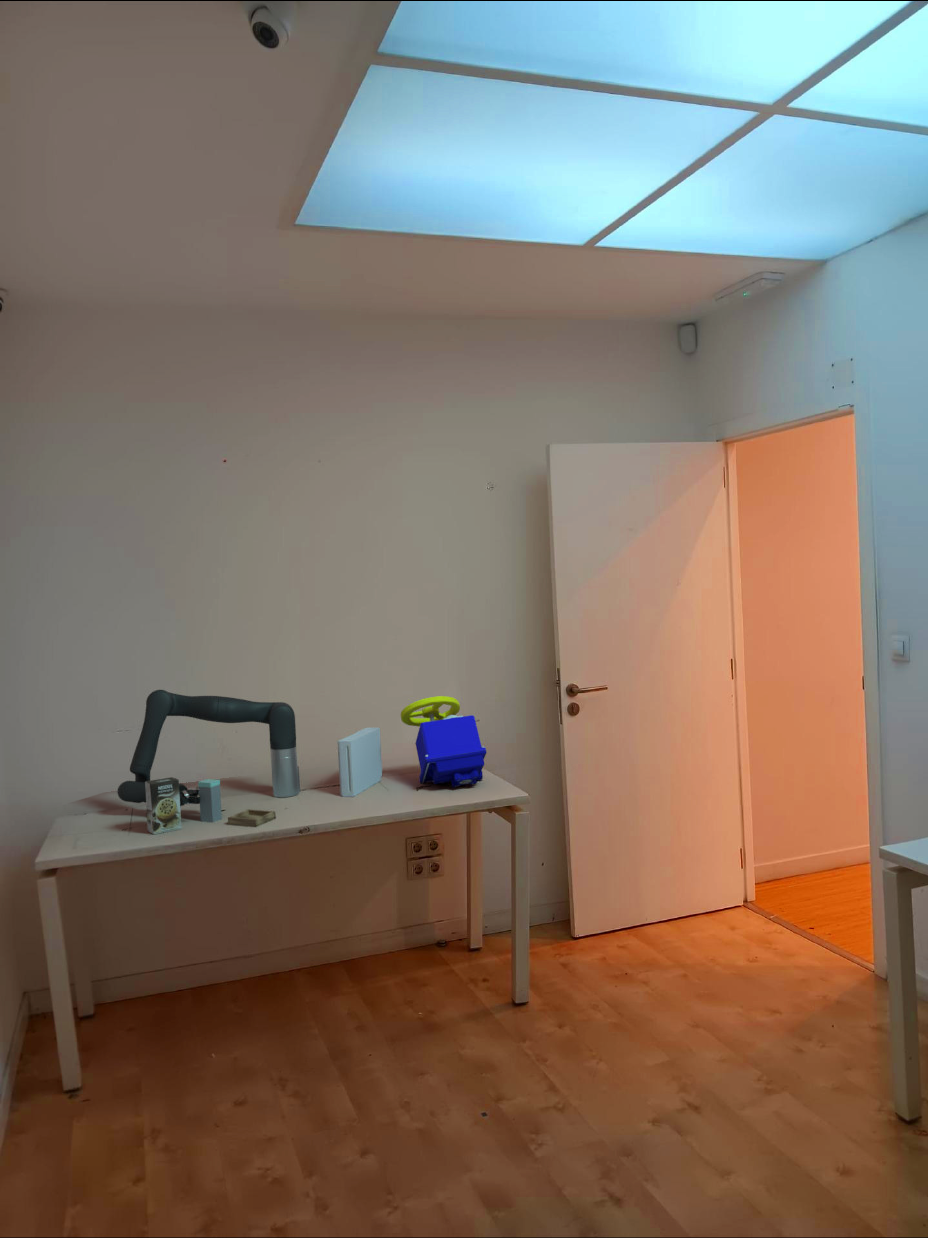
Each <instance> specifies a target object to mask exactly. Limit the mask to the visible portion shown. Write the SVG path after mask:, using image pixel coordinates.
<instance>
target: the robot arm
mask: <svg viewBox="0 0 928 1238" xmlns="http://www.w3.org/2000/svg"><path fill="white" fill-rule="evenodd" d="M145 701H146V702H145V705H146V706H145V713H144V719H143V725H142V728H141V733H140V735H139V737H138V738H139V739H138V741H137V743H136V746H135V750H134V752H133V756H132V759H131V762H130V765H129V772H130V773H131V774H133V775H134V777H135V779H134V780H125V781H123V782H122V783H120V785H118V787H117V792H116V793H117V795H118V798H119V799H120V800H122V802H125V803H126V802H127V803H136V804H141V803H145V804H146V788H145V781H151V770H152V768H153V764H154V762H155V757H156V754H157V750H158V744H159V740H160V735H161V732H162V729H163V725H164V723H165V721H166V719H167V717H187V718H193V719H197V720H202V721H207V722H214V723H222V724H240V723H243V724H244V723H259V724H267V725H268V730H269V747H270V761H271V762H270V763H271V781H272V796H273V797H275V798H287V797H290V798H291V797H294V796H297V795H299V793H300V792H301V783H300V782H301V781H300V767H299V766H298V754H297V731H296V730H297V729H296V727H297V726H296V714H295V712H294V709H293V707H292V706H291V705H290V704H289V703H287V702H282V701H281V702H279V701H277V702H275V701H274V702H270V701H269V702H265V701H264V702H263V701H262V702H261V701H260V702H259V701H253V700H247V699H243V698H236V697H231V696H229V697H228V696H221V695H195V696H193V695H184V694H178V693H173V692H168V691H167V690H165V689H157V690H154V691H152V692H150V694H148V696H147V698H146V700H145ZM179 795H180V807H183V806H185V805H192V804H193V805H200V797H199V787H198V786H196V787H195V788H187V786H186V784H183V783H179Z"/></svg>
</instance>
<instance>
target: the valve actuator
mask: <svg viewBox="0 0 928 1238" xmlns="http://www.w3.org/2000/svg"><path fill="white" fill-rule="evenodd" d="M443 705H447V706H450V708H449V709H448V710H446V711H445V712H440V709H439V708H441V707H442V706H443ZM418 710H419V711H418ZM460 710H461V705H460V701H459V700H457V699H456V698H454V697H452V696H445V695H439V696H437V695H436V696H431V697H426V698H423V699H419V700H416V701H414V702H412V703H410V704H408V705H407V706H405V707H404V708H403V709H402V710H401V713H400V719H401V721H402V723H403V724H405V725H407V726H412V727H419V728H418V731H417V732H418V733H417V737H416V739H415V746H416V747H415V748H416V753H417V758H418V763H419V767H420V775H419V777H418V778H419V779H418V780H419V783H420V784H425V783H429V782H430V781H431V782H433V784H434V785H437V784H439V785H440V784H445V783H449V782H450V783H451V787H452V788H453V789H454V788H457V787H459V786H465V785H475V784H477V781H483V778H484V777H483V776H484V775H483V768H484V766H485V757H486V756H487V753H488V752H487V749H486V747H485V746H484V745H482V743H481V739H480V734H479V730H478V726H477V723H476V719H475V718H476V717H475V716H474V715H472V714H470V715H467V716H465V715H464V716H463V714H462V715H461V714H460V715H459V716H458V715H457V714H458V713H459V712H460ZM421 716H422V717H423V718H422V717H421ZM424 782H425V783H424Z"/></svg>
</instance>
